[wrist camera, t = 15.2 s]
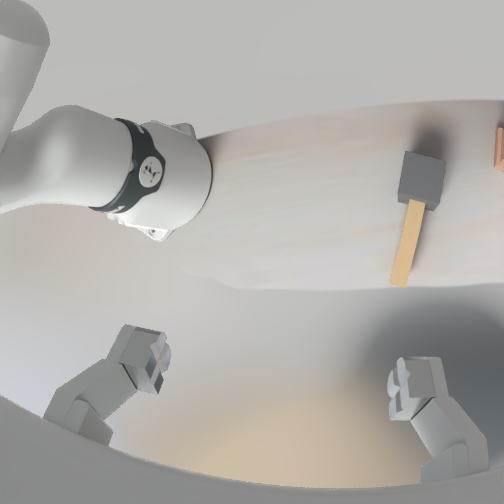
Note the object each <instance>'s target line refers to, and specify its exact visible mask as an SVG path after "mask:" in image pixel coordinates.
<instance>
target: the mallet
mask: <svg viewBox="0 0 504 504" xmlns="http://www.w3.org/2000/svg"><path fill="white" fill-rule="evenodd" d="M445 165H446V161H444V160H440V159H436V158H432V157H429V156H425V155H421V154H416V153H412V152H408V151H405V155H404V161H403V167H402V173H401V178H400V184H399V189H398V202H401V203H405V204H408V209H407V214H406V218H405V223H404V227H403V231H402V236H401V240H400V244H399V248H398V252H397V256H396V260H395V263H394V267H393V271H392V274H391V278H390V282H389V283H390V284H394V285H397V286H400V287H404V288H405V286H406V282H407V279H408V275H409V272H410V268H411V264H412V260H413V257H414V253H415V249H416V245H417V240H418V236H419V232H420V227H421V223H422V218H423V213H424V209H428V210H431V211H434V209H435V208H436V207H437V206H438V204H439V203H440V197H441V191H442V185H443V179H444V172H445Z"/></svg>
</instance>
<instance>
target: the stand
mask: <svg viewBox="0 0 504 504" xmlns="http://www.w3.org/2000/svg"><path fill="white" fill-rule="evenodd" d="M494 168H496V169H499V170H502V171H504V129H503V128H500V127H498V128H497V130H496V144H495V158H494Z"/></svg>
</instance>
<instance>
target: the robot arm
mask: <svg viewBox="0 0 504 504" xmlns="http://www.w3.org/2000/svg"><path fill="white" fill-rule="evenodd" d="M49 45H50V39H49V33H48V29H47V26H46V24H45V22H44V20H43V18H42V17H41V15H40V14H39V13H38V11H36V10H35V9H34V8H33V7H32V6H30V5H29V4H27V3H25V2H23V1H20V0H0V214H2V213H5V212H7V211H10V210H13V209H17V208H20V207H24V206H27V205H33V204H41V203H56V204H57V203H58V204H71V205H81V206H88V207H89V208H91V209H93V210H95V211H99V212H103V213H107V218H109V219H111V220H115V221H118V223H120V224H123V225H127V226H131V227H136V228H137V229H139V230H140V231H142V232H143V233H145V234H146V235H148V236H149V237H151V238H152V239H154V240H156V241H160V242H162V241H164V240H165V239H166V238H167V237H168V236H169V235H170V234H171V233H172V231H173V230H175V229H176V228H178V227H180V226H182V225H184V224H186V223H187V222H189V221H190V220H191V219H192V218H193V217H194V216H195V215H196V214H197V213H198V212H199V211H200V209H201V208H202V206H203V204H204V202H205V200H206V198H207V195H208V193H209V189H210V184H211V164H210V160H209V157H208V155H207V153H206V151H205V149H204V148H203V147H202V146H201V144H200V143H199V142H198V141H197V139H196V136H195V132H194V129H193V127H192V125H190V124H187V123H182V124H177V125H172V126H168V125H165V124H163V123H160V122H158V121H151V122H148V123H144V124H141V125H138V124H136V123H135V122H132V121H129V120H124V119H120V118H115V119H112V118H110V117H107V116H104V115H102V114H99V113H96V112H94V111H91V110H88V109H85V108H83V107H80V106H77V105H66V106H60V107H57V108H54V109H52V110H50V111H49V112H47V113H46V114H44V115H43V116H42V117H41V118H39V119H38V120H37V121H35V122H34V123H32V124H31V125H29V126H27V127H25V128H23V129H20V130H17V131H14V132H11V130H12V128H13V126H14V124H15V122H16V120H17V118H18V116H19V113H20V111H21V109H22V108H23V105H24V104H25V101H26V100H27V98H28V96H29V94H30V92H31V90H32V88H33V86H34V83H35V80H36V78H37V75H38V73H39V70H40V68H41V65H42V62H43V60H44V57H45V55H46V52H47V50H48V47H49ZM154 230H155V232H154ZM166 339H167V338H166V335H165V333H164V332H159V331H155V330H150V329H145V328H140V327H137V326H132V325H127V324H125V325H124V326H123V327H122V328H121V330H120V332H119V334H118V336H117V338H116V340H115V342H114V344H113V346H112V348H111V350H110V352H109V354H108V356H107V358H106V359H101V360H100V361H98V362H97V363H95V364H94V365H92V366H91V367H89V368H88V369H86V370H85V371H83V372H82V373H80V374H79V375H77V376H76V377H75V378H73V379H71V380H70V381H69V382H67V383H65V384H64V385H63V386H61V387H59V388H58V389H57V390H56V392H55V394H54V396H53V398H52V400H51V402H50V404H49V406H48V408H47V410H46V412H45V414H44V417H43V418H41V417H40V416H38V415H36V414H34V413H32V412H30V411H28V410H26V409H25V408H23V407H21V406H19V405H17V404H15V403H14V402H12V401H10V400H8V399H7V398H5V397H4V396H2V395H0V504H504V466H502V467H499V468H495V469H491V470H490V468H489V458H488V450H487V443H486V438H485V436H484V435H483V434H482V433H481V431H480V430H479V429H478V428H477V427H476V425H475V424H474V423H473V422H472V420H471V419H470V418H469V417H468V415H467V414H466V413H465V412H464V411H463V409H462V408H461V407H460V406H459V405H458V403H457V402H456V401H455V400H454V399H453V397H449V396H448V390H447V385H446V381H445V376H444V371H443V366H442V362H441V359H440V358H439V357H401V358H399V359H398V361H397V367H396V368H394V369H393V370H392V371H391V373H390V375H389V378H388V386H387V387H388V394H389V395H390V397H391V398H392V400H391V402H390V403H389V415H390V421H391V420H393V421H394V420H395V421H398V420H411V423H412V425H413V427H414V428H415V430H416V431H417V433H418V435H419V436H420V438H421V440H422V441H423V443H424V445H425V446H426V448H427V449H428V451H429V452H430V454H431V456H432V458H433V459H431V460H430V461H428V462H427V463H425V464H424V465H423V466H422V467H421V483H420V484H412V485H403V486H393V487H376V488H349V489H348V488H346V489H336V488H335V489H333V488H332V489H329V488H304V487H289V486H278V485H268V484H260V483H252V482H245V481H238V480H232V479H226V478H220V477H215V476H210V475H205V474H201V473H195V472H191V471H187V470H183V469H179V468H175V467H171V466H167V465H163V464H160V463H157V462H153V461H149V460H146V459H143V458H140V457H137V456H134V455H131V454H128V453H124V452H122V451H119V450H116V449H113V448H111V447H108V445H109V442H110V440H111V437H112V434H113V431H112V429H111V428H110V426H109V425H108V424H106V422H105V421H104V420H105V419H106V418H107V417H108V416H110V415H111V414H112V413H113V412H114V411H115V410H117V409H118V408H119V407H120V406H121V405H122V404H123V403H124V402H126V401H127V400H128V399H129V398H130V397H131V396H132V395H134V394H135V393H136V392H137V390H140V391H144V392H149V393H153V394H157V395H158V394H159V391H160V388H161V386H162V383H163V376H162V373H163V372H165V371H166V370H167V369H168V366H169V363H170V358H171V350H170V347H169V345H168V344H167V343H166V342H165V341H166Z"/></svg>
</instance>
